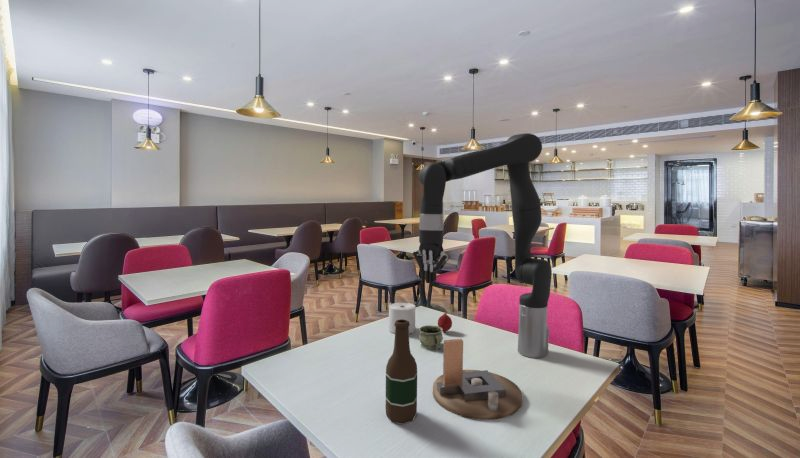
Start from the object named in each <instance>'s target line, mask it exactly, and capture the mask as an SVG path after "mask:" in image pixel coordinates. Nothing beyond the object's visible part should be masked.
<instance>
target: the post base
mask: <svg viewBox="0 0 800 458" xmlns="http://www.w3.org/2000/svg"><path fill="white" fill-rule="evenodd" d="M474 371H481V370H479V369H463V372H474ZM488 372H489V373H490V374H491V375H492V376H493V377H494V378H495V379H496V380H497V381H498V382H499V383H500V384H501V385H502V386H503V387H504V388H505V389H506V397H499V398H498V393H497V392H495V391H490V392H488V399H480V400H471V401H464V399H463V398H462V396H461V395H460V394H459V393H455V394H445V395H440V394H439V392H438V391H437V382H443V374H442V375H441V374H440V375H439V376H438V377H437V378H436V379H435V381H433V385H432V395H433V398H434V401H435V402H436V403H437V404H438V405H439V406H440V407H441V408H443V409H444V410H446V411H448V412H449V413H450V412H451V414H455V415H457V416H460V417H464V418H466V419H467V418H468V419H473V420H481V421H482V420H483V421H487V420H489V421H491V420H499V419H505V418H508V417H511V416H512V415H515V414H516V413H517V412H518V411H519V410H520V409H521V407H522V405H523V392H522V390H521V389H520V387H519V386H518V385H517V384H516V383H515V382H513V381H512V380H510V379H508V378H507V377H505V376H502V375H500V374H497V373H494V372H490V371H488ZM470 385H471V386H482V385H483V384H482V380H481V379H479V378H473V379H471V384H470Z"/></svg>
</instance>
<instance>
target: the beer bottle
mask: <svg viewBox="0 0 800 458" xmlns="http://www.w3.org/2000/svg"><path fill="white" fill-rule="evenodd" d="M409 325H410V324H409V321H407V320H403V319H401V320H397V321H396V322H395V324H394V326H395V333H394V340H393V341H394V346H393V352H392V354H391V355H390V357H389V359H388V361H387V364H386V365H385V417H387V418H388V420H389V421H390V422H391V423H396V424H401V425H403V424H406V423H410V422H414V419H415V417H416V415H417V413H418V412H417V409H418V365H417V362H416V359H415V356H413V354H412V353H411V347H410V334H409Z"/></svg>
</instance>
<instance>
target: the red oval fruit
mask: <svg viewBox="0 0 800 458" xmlns="http://www.w3.org/2000/svg"><path fill="white" fill-rule="evenodd" d="M451 318H452V317H450V316H449V315H448V313H447V312H444V313H443V314H442V315H441V316H440V317H439V318H438V320H437V326H438V327H441V328H442V329H443V330H442V333H446V332H448V331H449V330H450V329H451V328H452V326H453V321H452V319H451Z"/></svg>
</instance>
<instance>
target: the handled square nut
mask: <svg viewBox="0 0 800 458" xmlns="http://www.w3.org/2000/svg"><path fill="white" fill-rule="evenodd" d="M442 357H443V361H442V362H443V363H442V375H443V382H437V391H438V392H439V394H440V395H445V394H455V393H459V394H460V395H461V396H462V398H463V399H464V401H471V400H480V399H488V392H490V391H495V392H497V393H498V398H499V397H506V389H505V388H504V387H503V386H502V385H501V384H500V383H499V382H498V381H497V380H496V379H495V378H494V377H493V376H492V375H491V374H490V373H489V372H490V371H489V370H487V369H485V370H480V371H474V372H463V370H464V368H463V367H464V366H463V364H464V363H463V362H464V340H463V339H462V338H456V339H444V340H443V356H442ZM473 378H479V379H481V380H482V384H483V385H482V386H471V385H470V384H471V379H473Z"/></svg>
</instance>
